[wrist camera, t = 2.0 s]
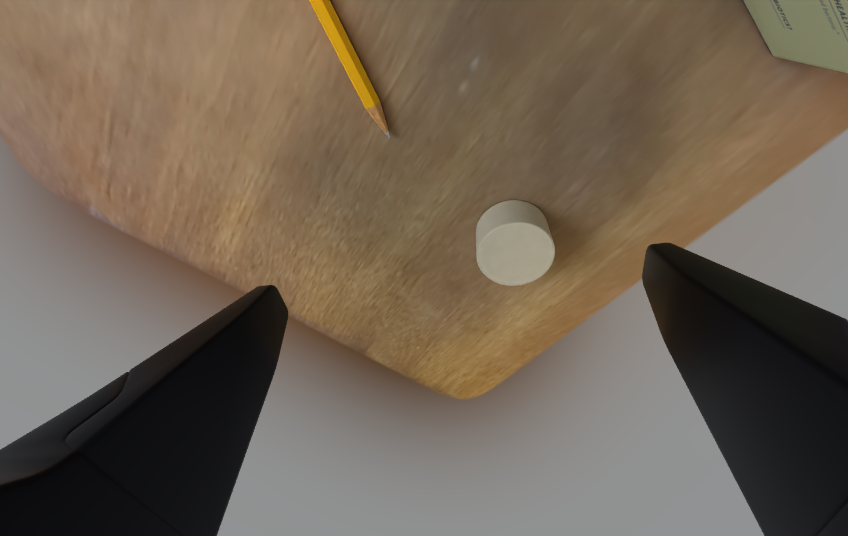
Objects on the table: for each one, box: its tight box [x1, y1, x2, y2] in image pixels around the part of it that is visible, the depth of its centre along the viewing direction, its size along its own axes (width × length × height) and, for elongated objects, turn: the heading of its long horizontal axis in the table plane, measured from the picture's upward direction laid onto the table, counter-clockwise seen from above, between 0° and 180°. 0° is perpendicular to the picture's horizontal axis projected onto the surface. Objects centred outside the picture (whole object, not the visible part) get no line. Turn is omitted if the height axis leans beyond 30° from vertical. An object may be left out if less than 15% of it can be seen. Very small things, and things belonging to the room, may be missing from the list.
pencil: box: [309, 0, 390, 138], centre depth 17 cm, size 1×9×1 cm, turn 25°
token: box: [476, 200, 555, 286], centre depth 21 cm, size 4×4×2 cm
